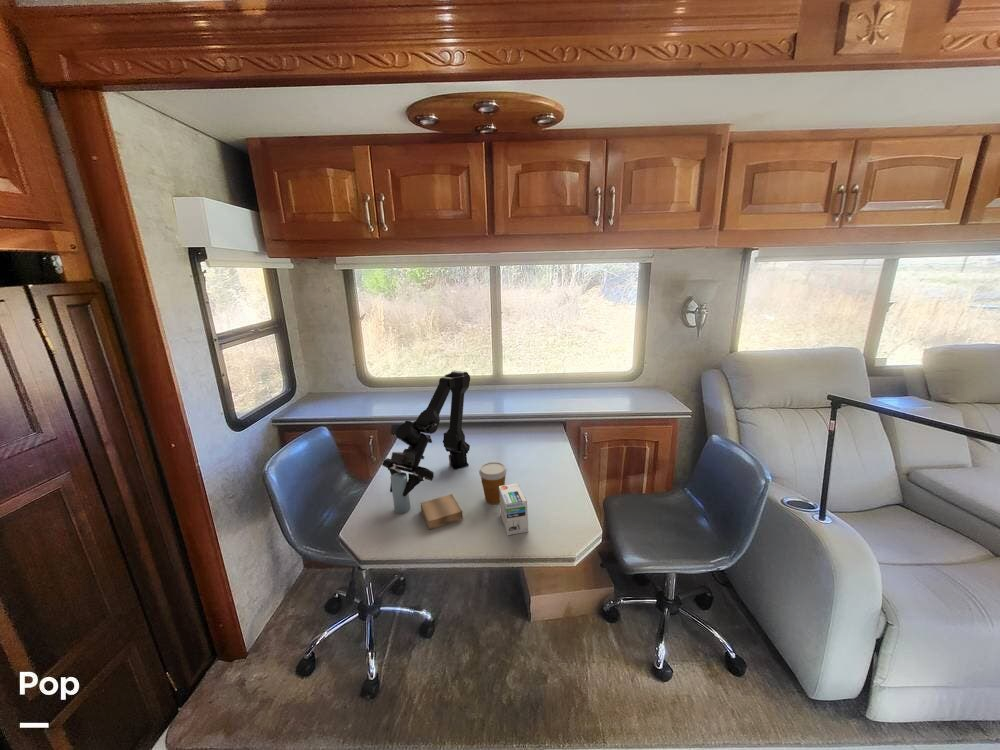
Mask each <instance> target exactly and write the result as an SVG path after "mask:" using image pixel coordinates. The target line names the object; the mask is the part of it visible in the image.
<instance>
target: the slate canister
mask: <svg viewBox="0 0 1000 750" xmlns="http://www.w3.org/2000/svg"><path fill="white" fill-rule="evenodd" d="M407 482H408V475H407V473H406V472H405V471H403V472H402V471H401V472H398V473H395V474H393V475H391V474H390V486H392V492H391V494H392V501H393V510H394V512H395V514H398V515H401V514H406V513H408V512H410V510H411V502H410V494H409V493H410V492H409V493H408V494H407V495H406V496H403V492H404V489H405V487H406V485H407Z"/></svg>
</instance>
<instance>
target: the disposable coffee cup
mask: <svg viewBox="0 0 1000 750" xmlns="http://www.w3.org/2000/svg"><path fill="white" fill-rule="evenodd" d="M507 472H508V469H507V468H506V466H505V464H504V463H501V462H499V461H490V462H489V461H488V462H486V463H484V464H482V465H481V466H480V468H479V471H478V475H479V476H480V479H481V484H482V489H483V494H484V495H483V496H484V500H485V502H486V503H487V504H489V505H490V504H491V505H497V504H500V495H499V486H503V485H506V484H505V483H506V475H507Z"/></svg>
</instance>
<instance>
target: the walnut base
mask: <svg viewBox="0 0 1000 750" xmlns="http://www.w3.org/2000/svg"><path fill="white" fill-rule="evenodd" d="M420 511H421V513H422V515H423V518H424V521H425V523H426V525H427V527H428V530H433V529H437V528H440V527H442V526H445V525H449V524H452V523H455V522H458V521H461V520H464V515H463V510H462V508H461V506H460V505H459V503H458V501H457V500H456V498H455V497H454V495H453V493H450V494H448V495H444V496H441V497H440V496H439V497H437V498H433V499H429V500H426V501H422V502H420Z"/></svg>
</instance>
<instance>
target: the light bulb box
mask: <svg viewBox="0 0 1000 750" xmlns="http://www.w3.org/2000/svg"><path fill="white" fill-rule="evenodd" d="M499 495H500V503H499V506H500V507H499V509H500V518H501V520H502V522H503V526H504V529H505V531H506V534H507V536H511V535H516V534H521V533H528V532H529V519H528V515H529V514H528V500H527V497H526V496H525V494H524V493H523V491H522V489H521V487H520V484H519V483H518V482H517V483H511V484H505V485H503V486H499Z"/></svg>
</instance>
